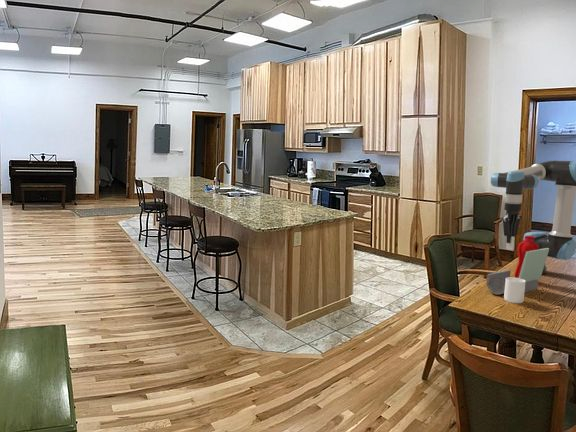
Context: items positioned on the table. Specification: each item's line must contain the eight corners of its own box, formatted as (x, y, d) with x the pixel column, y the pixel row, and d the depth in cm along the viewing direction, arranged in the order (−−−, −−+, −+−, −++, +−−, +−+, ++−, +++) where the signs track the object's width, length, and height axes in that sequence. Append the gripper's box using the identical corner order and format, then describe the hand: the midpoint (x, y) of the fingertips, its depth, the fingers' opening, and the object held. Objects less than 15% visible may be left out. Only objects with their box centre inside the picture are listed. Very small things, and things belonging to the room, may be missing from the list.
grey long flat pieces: (507, 280, 242) (508, 269, 241) (537, 289, 228) (538, 277, 227) (486, 285, 233) (487, 274, 232) (516, 294, 219) (517, 282, 218)
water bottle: (522, 277, 249) (526, 233, 245) (538, 282, 239) (543, 237, 235) (508, 278, 246) (513, 233, 242) (525, 284, 236) (529, 237, 232)
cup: (503, 301, 208) (505, 280, 206) (503, 294, 218) (505, 274, 217) (523, 304, 204) (525, 283, 203) (522, 297, 215) (525, 276, 213)
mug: (512, 283, 223) (514, 285, 213) (505, 297, 224) (506, 300, 214) (491, 273, 226) (492, 275, 217) (484, 287, 227) (485, 289, 218)
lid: (547, 247, 222) (549, 248, 221) (538, 277, 227) (540, 278, 226) (526, 251, 213) (528, 252, 212) (517, 282, 218) (519, 283, 217)
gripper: (514, 200, 227) (510, 246, 231) (498, 202, 221) (494, 249, 224) (528, 202, 221) (524, 249, 225) (512, 204, 214) (508, 252, 218)
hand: (509, 249), depth 224 cm, fingers closed
